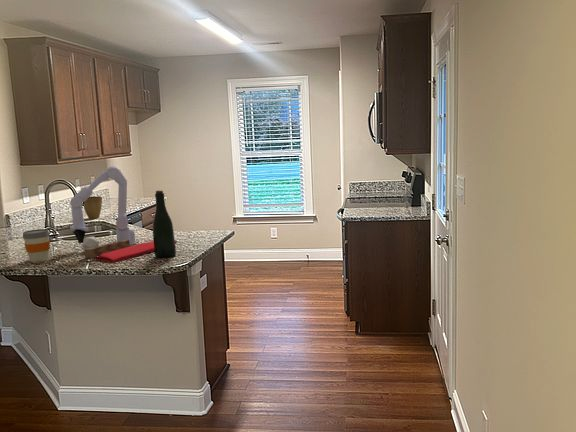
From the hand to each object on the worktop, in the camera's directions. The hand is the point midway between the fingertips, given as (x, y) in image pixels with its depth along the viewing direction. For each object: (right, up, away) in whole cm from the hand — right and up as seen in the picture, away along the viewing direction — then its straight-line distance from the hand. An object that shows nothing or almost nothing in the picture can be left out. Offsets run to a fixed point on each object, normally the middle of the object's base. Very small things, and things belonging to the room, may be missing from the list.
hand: (81, 243), depth 306 cm
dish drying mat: (+35, -5, -14) cm, 38 cm away
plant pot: (-34, +13, +119) cm, 124 cm away
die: (+7, -4, -4) cm, 10 cm away
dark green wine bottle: (+52, -5, -27) cm, 59 cm away
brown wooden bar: (+19, -5, -12) cm, 22 cm away
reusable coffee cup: (-15, -8, -18) cm, 24 cm away
